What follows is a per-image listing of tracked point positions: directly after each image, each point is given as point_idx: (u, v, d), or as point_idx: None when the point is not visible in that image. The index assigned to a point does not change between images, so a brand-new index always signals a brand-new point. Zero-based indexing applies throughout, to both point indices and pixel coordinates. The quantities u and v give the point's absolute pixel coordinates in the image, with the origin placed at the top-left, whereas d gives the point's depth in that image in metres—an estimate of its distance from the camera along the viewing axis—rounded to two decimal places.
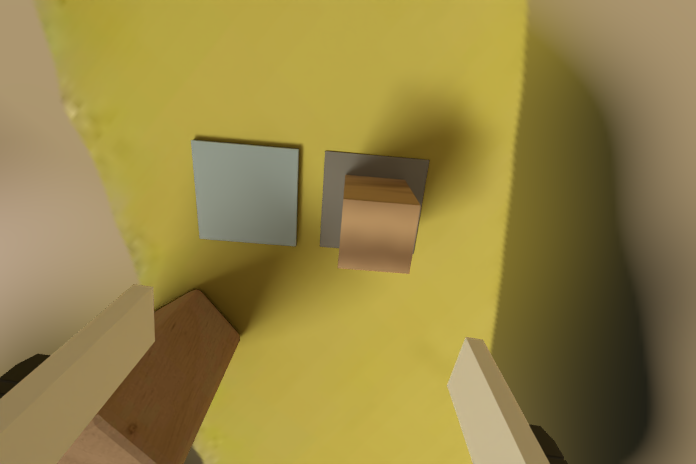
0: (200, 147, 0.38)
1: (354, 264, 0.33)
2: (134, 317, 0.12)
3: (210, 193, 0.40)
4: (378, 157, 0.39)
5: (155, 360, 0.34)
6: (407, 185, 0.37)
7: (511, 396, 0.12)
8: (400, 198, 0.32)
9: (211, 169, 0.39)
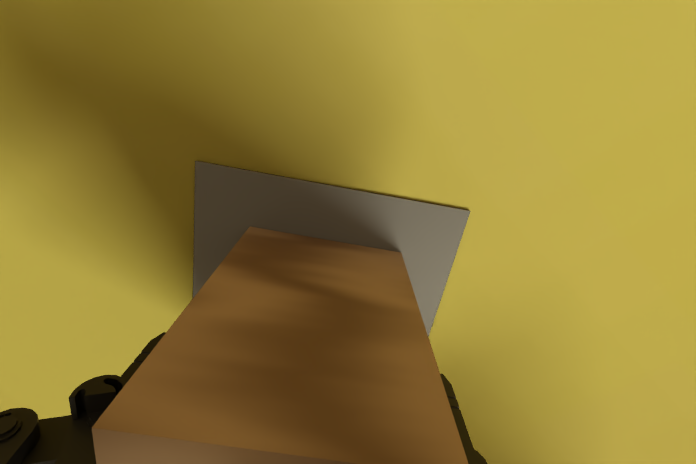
0: None
1: None
2: None
3: None
4: (197, 280, 0.16)
5: None
6: None
7: None
8: None
9: None
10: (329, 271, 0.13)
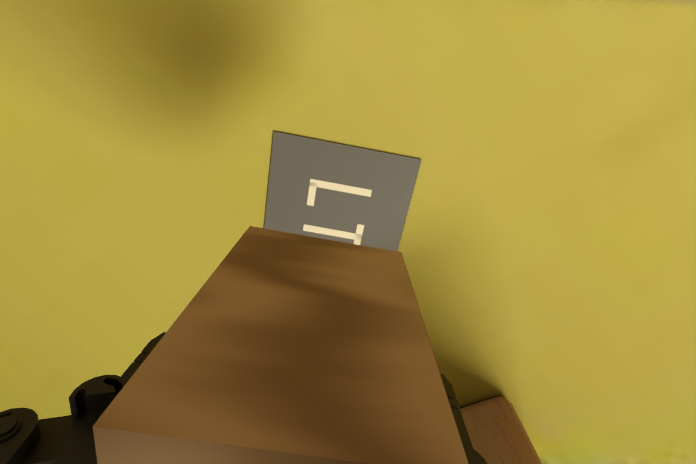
0: None
1: None
2: None
3: None
4: (269, 201, 0.29)
5: None
6: None
7: None
8: None
9: None
10: (329, 270, 0.13)
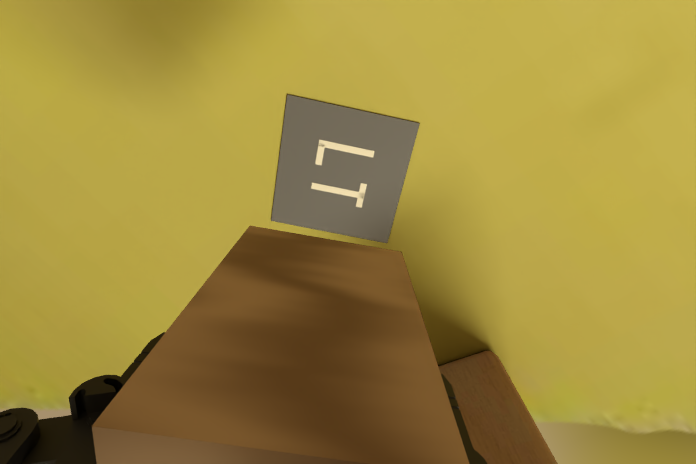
0: None
1: None
2: None
3: None
4: (281, 160, 0.32)
5: None
6: None
7: None
8: None
9: None
10: (329, 270, 0.13)
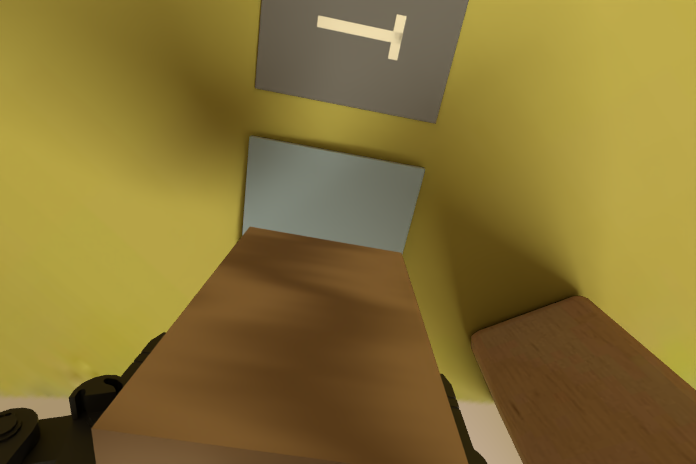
0: None
1: None
2: None
3: None
4: None
5: None
6: None
7: None
8: None
9: None
10: (329, 271, 0.13)
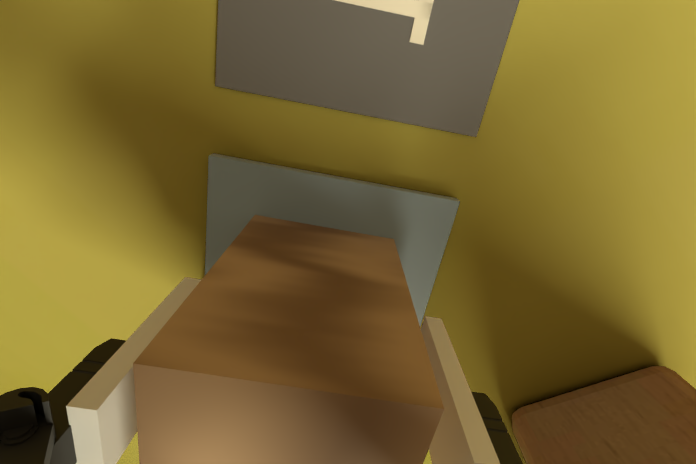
0: None
1: None
2: None
3: None
4: None
5: None
6: None
7: (459, 367, 0.13)
8: None
9: None
10: (327, 253, 0.14)
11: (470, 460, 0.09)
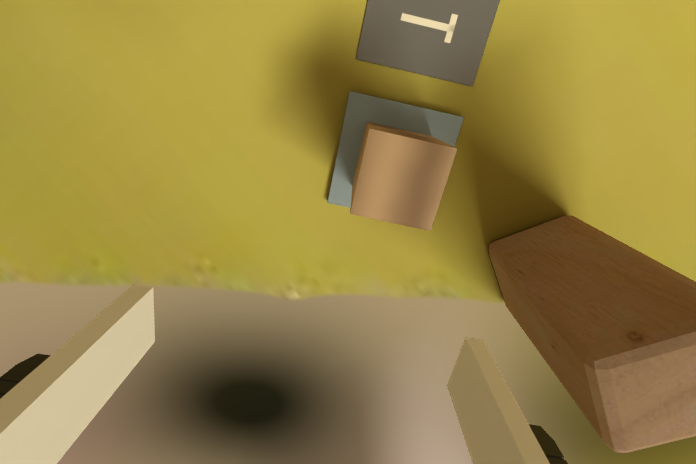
0: (335, 195, 0.38)
1: (430, 212, 0.28)
2: (133, 317, 0.12)
3: None
4: None
5: (553, 295, 0.28)
6: None
7: (511, 396, 0.12)
8: (364, 145, 0.28)
9: None
10: (405, 131, 0.33)
11: None
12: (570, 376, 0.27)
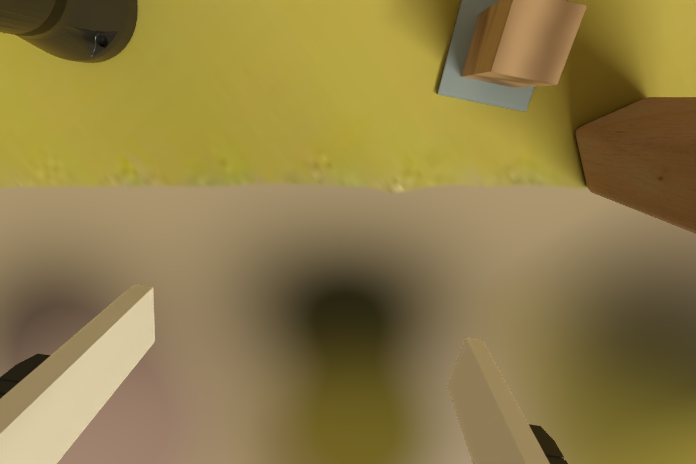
0: (445, 86, 0.44)
1: (558, 67, 0.34)
2: (134, 317, 0.12)
3: (486, 88, 0.44)
4: None
5: (661, 133, 0.34)
6: (486, 9, 0.38)
7: (511, 396, 0.12)
8: (502, 13, 0.34)
9: (465, 81, 0.44)
10: None
11: None
12: (680, 195, 0.33)
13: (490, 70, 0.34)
